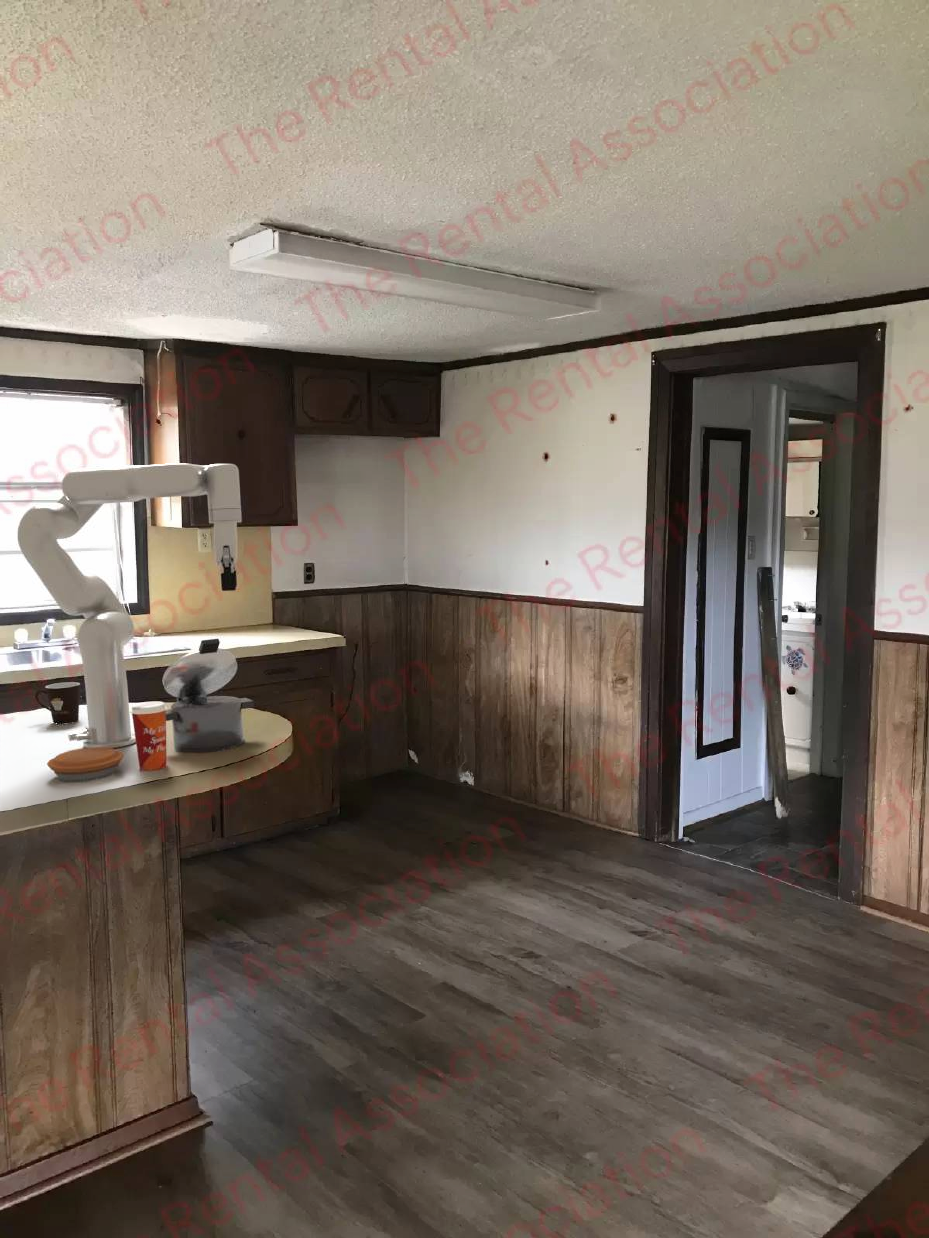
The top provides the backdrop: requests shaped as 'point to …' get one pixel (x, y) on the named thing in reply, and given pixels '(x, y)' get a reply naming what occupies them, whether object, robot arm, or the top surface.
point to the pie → (86, 764)
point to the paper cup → (150, 734)
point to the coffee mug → (62, 701)
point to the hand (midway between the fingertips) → (229, 588)
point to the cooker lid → (200, 671)
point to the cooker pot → (207, 723)
